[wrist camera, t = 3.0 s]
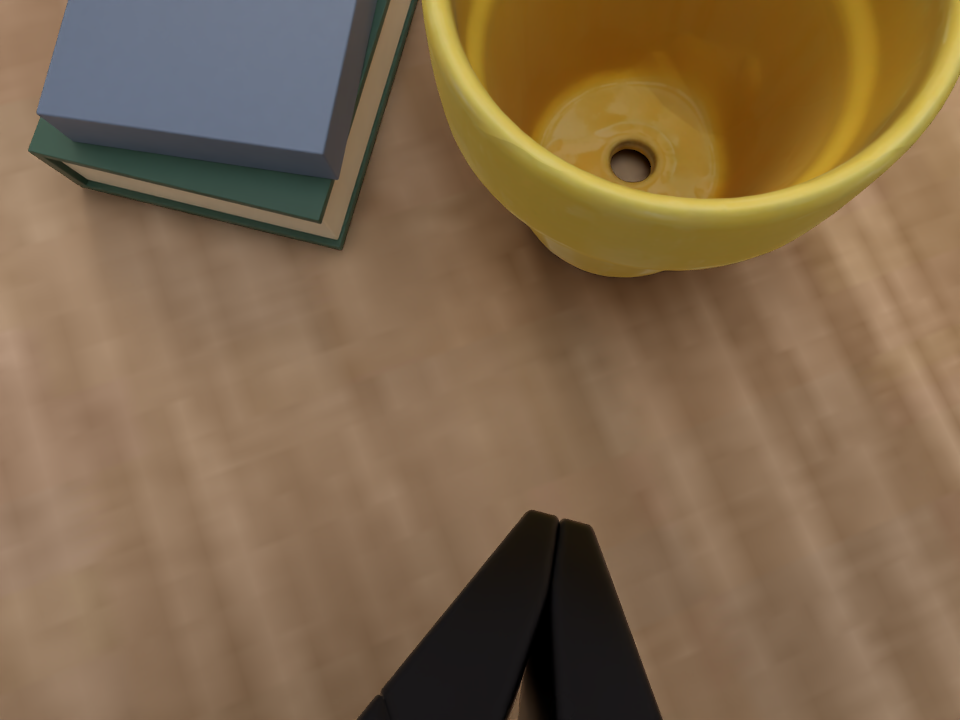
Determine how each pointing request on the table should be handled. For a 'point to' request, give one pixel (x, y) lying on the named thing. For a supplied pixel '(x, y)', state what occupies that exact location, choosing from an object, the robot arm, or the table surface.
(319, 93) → the books
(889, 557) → the table surface
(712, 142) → the flower pot
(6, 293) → the table surface
